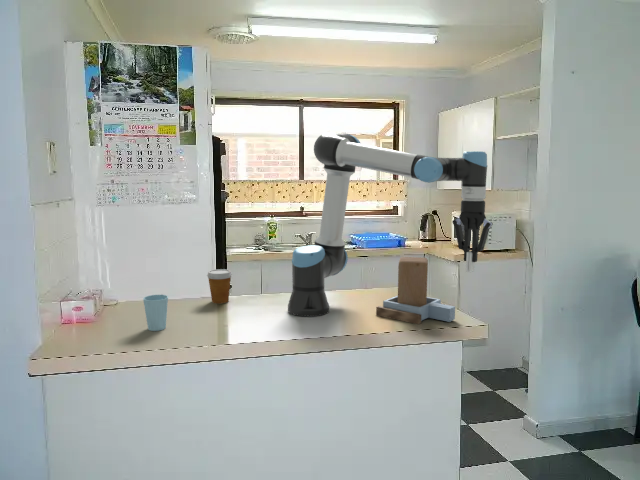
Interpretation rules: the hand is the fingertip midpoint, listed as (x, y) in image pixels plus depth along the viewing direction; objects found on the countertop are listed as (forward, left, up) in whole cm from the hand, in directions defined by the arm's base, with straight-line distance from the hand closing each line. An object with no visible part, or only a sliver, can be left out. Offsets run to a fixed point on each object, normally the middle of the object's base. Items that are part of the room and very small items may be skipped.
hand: (469, 271), depth 171 cm
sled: (-17, 0, -18) cm, 25 cm away
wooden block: (-21, 0, -19) cm, 28 cm away
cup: (-77, -68, -19) cm, 104 cm away
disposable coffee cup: (-87, -33, -19) cm, 95 cm away
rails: (-22, 0, -18) cm, 28 cm away
